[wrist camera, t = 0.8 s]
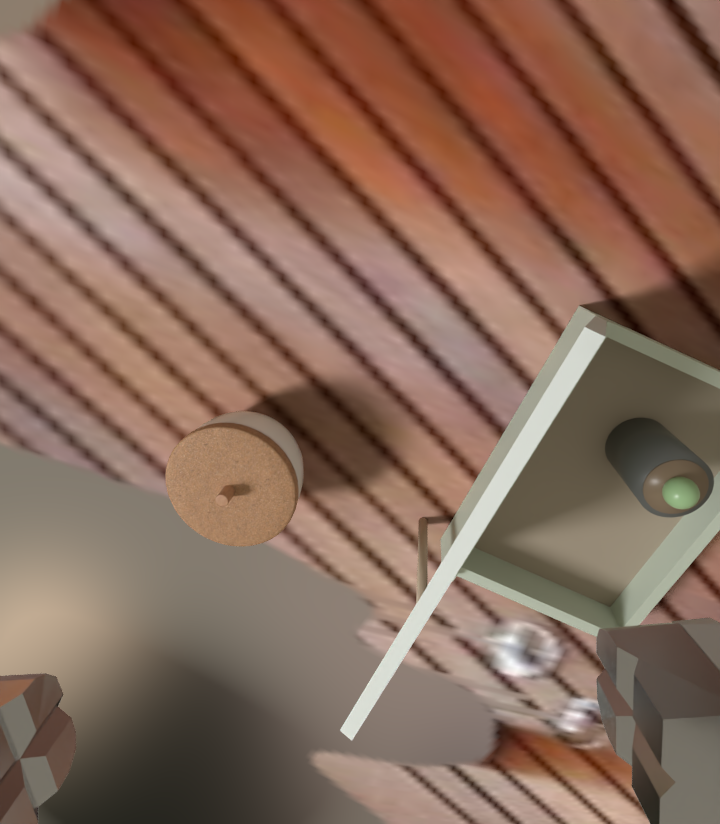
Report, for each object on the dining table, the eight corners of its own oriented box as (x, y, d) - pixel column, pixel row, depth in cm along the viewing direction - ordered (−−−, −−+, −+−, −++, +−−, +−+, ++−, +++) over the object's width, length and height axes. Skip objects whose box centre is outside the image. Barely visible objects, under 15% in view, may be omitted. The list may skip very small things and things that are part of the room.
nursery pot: (627, 407, 42) (677, 455, 33) (682, 432, 42) (746, 486, 33) (593, 458, 43) (632, 515, 35) (646, 481, 44) (698, 544, 35)
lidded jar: (336, 431, 46) (315, 481, 37) (285, 518, 50) (255, 581, 41) (230, 372, 45) (183, 409, 37) (187, 465, 49) (135, 518, 41)
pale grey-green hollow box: (502, 270, 40) (586, 328, 19) (785, 400, 40) (1172, 596, 19) (377, 511, 48) (338, 735, 27) (611, 614, 49) (748, 907, 28)
